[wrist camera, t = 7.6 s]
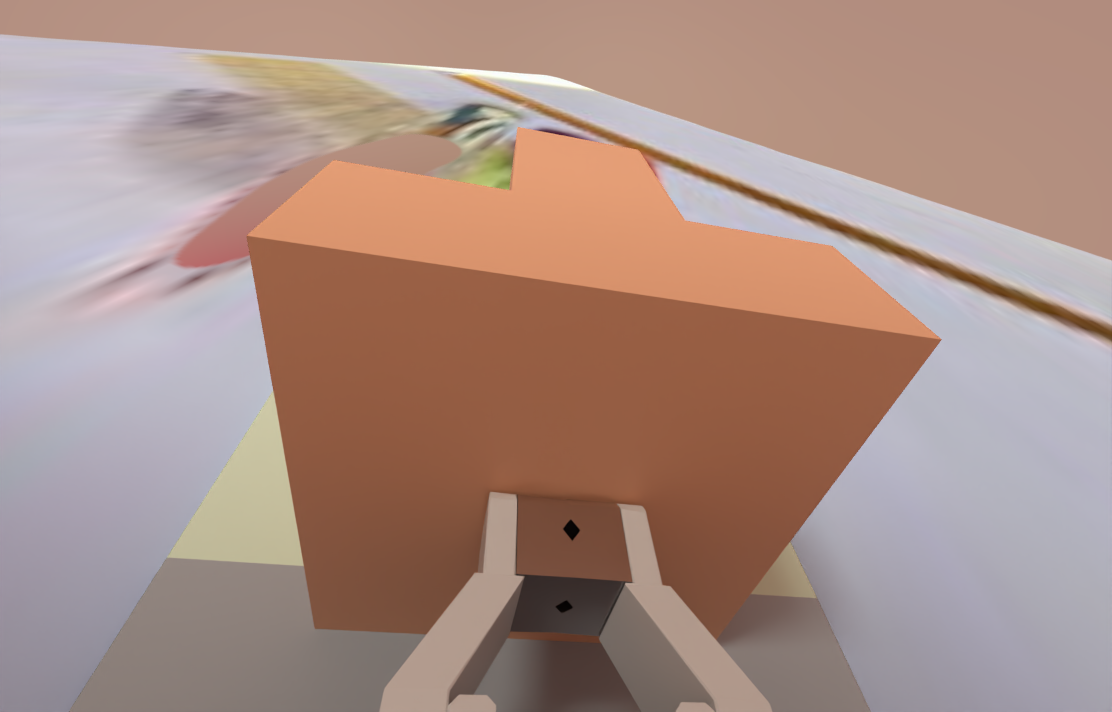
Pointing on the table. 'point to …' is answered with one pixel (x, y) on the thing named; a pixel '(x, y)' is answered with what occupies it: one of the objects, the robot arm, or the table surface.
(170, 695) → the board
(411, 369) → the t block
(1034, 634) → the table surface
